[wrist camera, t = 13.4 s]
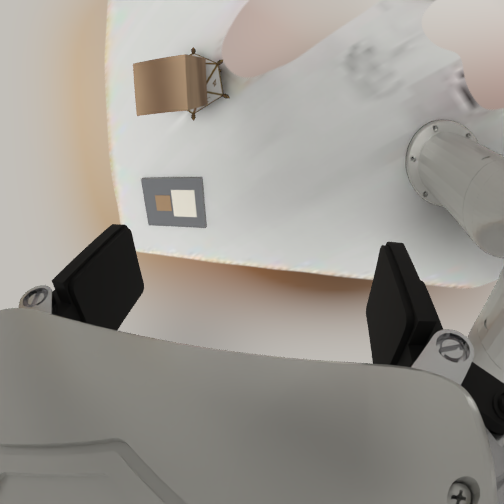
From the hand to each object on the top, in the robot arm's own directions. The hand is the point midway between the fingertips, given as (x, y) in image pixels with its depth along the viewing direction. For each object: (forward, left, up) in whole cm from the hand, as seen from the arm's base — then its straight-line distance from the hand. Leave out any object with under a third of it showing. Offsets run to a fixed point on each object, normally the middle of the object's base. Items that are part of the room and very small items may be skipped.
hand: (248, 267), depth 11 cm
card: (+18, +11, -32) cm, 39 cm away
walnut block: (+12, -7, -24) cm, 28 cm away
